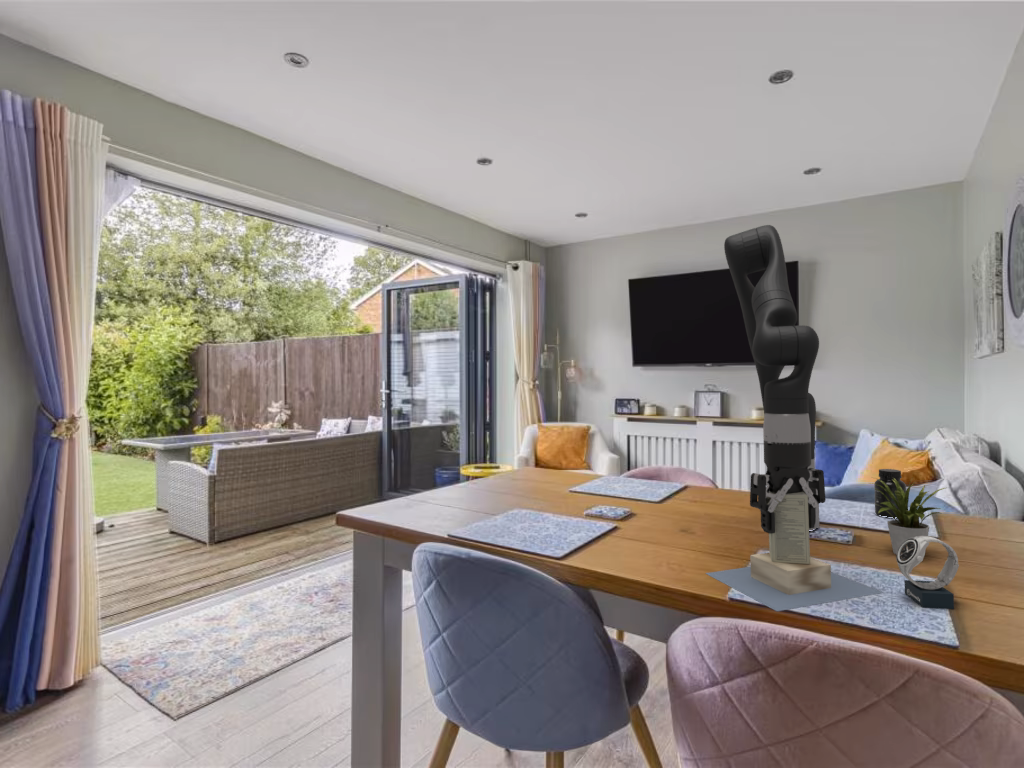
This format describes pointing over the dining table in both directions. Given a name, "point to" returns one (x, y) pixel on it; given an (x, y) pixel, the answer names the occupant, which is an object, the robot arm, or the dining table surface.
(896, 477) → the supplement bottle
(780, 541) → the skincare box
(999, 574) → the dining table surface
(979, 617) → the dining table surface
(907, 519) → the house plant
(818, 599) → the slate gray board
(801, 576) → the plinth block
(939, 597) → the watch
